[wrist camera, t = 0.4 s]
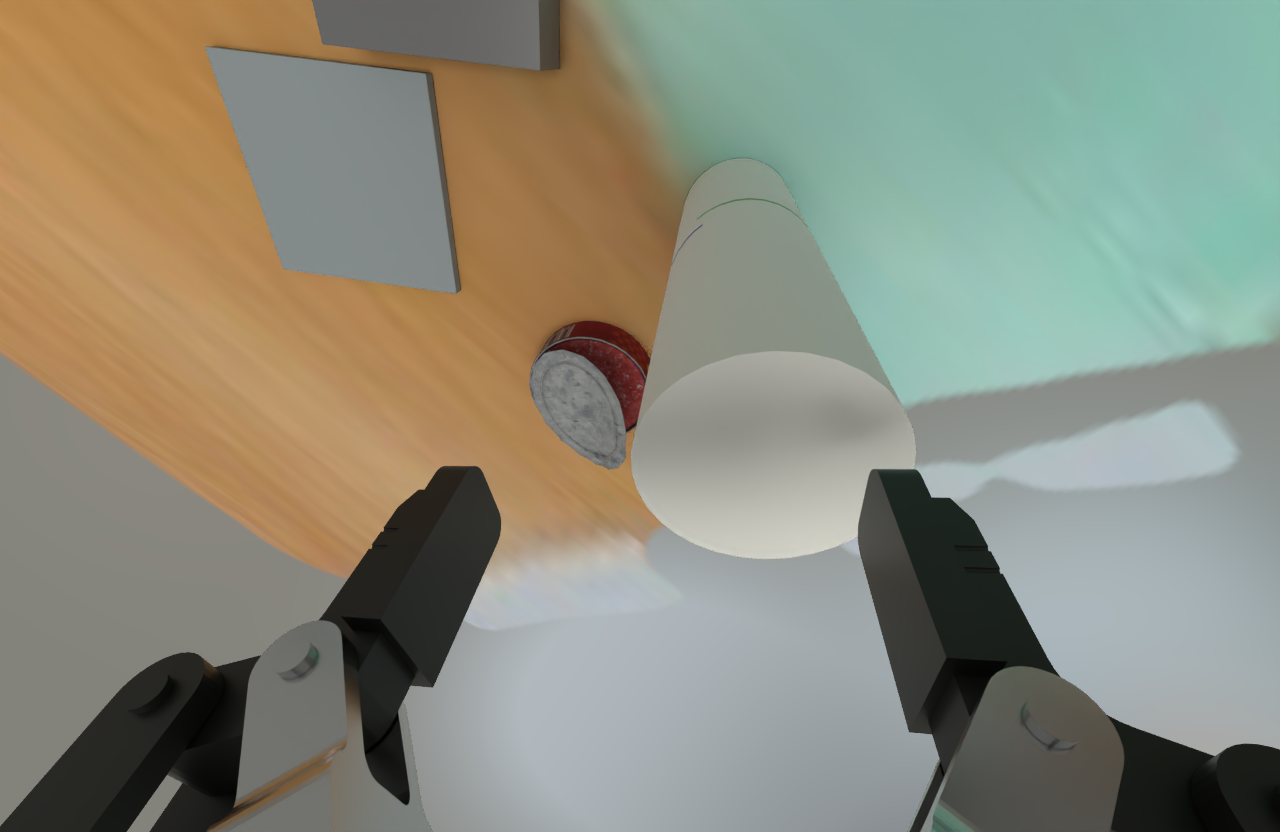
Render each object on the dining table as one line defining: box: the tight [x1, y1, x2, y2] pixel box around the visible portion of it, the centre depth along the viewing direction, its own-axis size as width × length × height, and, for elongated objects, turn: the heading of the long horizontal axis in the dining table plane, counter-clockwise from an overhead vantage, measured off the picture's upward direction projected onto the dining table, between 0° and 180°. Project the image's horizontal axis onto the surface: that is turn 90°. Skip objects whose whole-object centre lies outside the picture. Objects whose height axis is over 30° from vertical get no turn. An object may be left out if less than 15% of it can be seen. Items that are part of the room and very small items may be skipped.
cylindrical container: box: [631, 158, 916, 559], centre depth 23 cm, size 7×7×25 cm
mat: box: [205, 47, 461, 294], centre depth 34 cm, size 14×14×1 cm
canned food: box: [529, 321, 650, 469], centre depth 39 cm, size 11×10×10 cm
